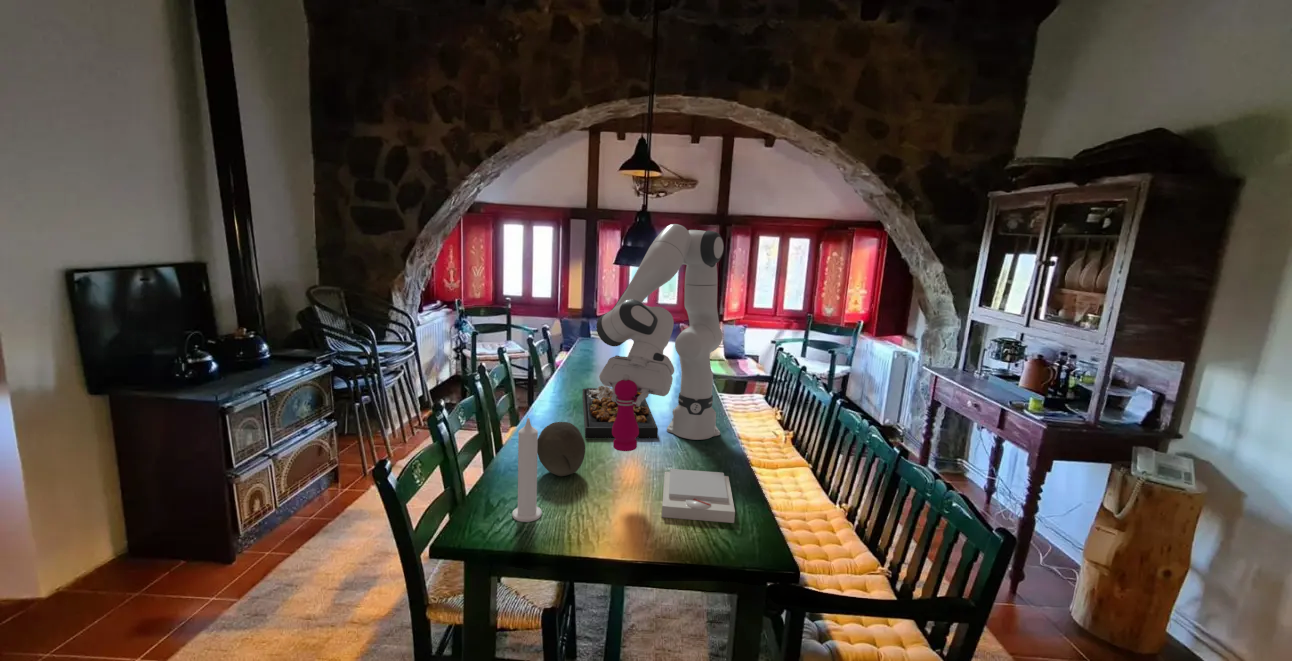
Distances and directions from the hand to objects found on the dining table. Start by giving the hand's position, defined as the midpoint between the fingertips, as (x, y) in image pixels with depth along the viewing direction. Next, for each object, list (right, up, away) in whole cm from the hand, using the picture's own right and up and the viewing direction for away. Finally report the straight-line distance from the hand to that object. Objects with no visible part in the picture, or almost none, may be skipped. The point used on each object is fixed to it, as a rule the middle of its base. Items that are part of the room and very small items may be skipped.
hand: (624, 403), depth 146 cm
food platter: (-6, -14, +65) cm, 67 cm away
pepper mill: (0, -12, +3) cm, 13 cm away
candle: (-24, -26, -9) cm, 37 cm away
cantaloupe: (-19, -22, +14) cm, 33 cm away
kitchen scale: (+19, -26, +2) cm, 33 cm away
